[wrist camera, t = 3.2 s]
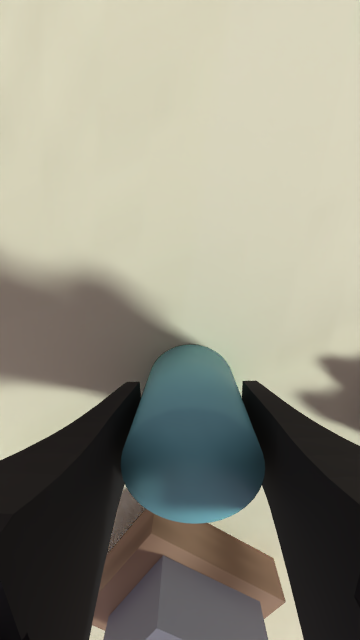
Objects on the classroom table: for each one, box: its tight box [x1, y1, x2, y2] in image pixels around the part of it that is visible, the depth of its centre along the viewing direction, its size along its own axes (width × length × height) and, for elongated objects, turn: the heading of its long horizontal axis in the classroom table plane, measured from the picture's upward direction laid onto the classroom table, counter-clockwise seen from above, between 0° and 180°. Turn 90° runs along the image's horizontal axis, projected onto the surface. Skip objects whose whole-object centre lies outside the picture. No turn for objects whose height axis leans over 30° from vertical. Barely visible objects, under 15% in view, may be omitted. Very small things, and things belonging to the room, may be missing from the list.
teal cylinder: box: [121, 345, 265, 524], centre depth 9 cm, size 4×4×5 cm
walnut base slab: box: [92, 509, 286, 630], centre depth 15 cm, size 9×9×2 cm
